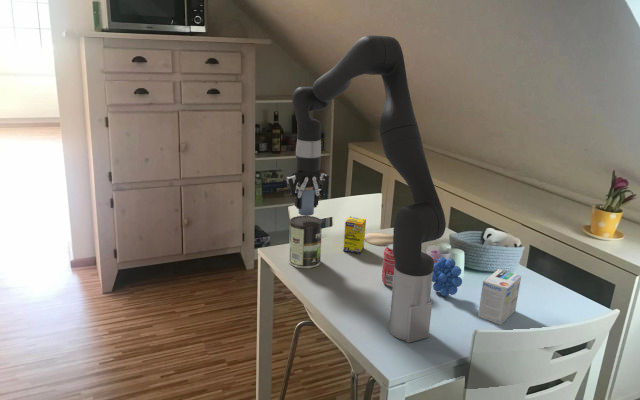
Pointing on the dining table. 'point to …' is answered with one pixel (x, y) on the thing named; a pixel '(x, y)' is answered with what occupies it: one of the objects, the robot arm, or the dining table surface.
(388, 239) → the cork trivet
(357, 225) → the supplement box
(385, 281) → the soda can
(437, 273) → the grapes
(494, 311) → the light bulb box
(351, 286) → the dining table surface
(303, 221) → the coffee can
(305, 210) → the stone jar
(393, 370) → the dining table surface
